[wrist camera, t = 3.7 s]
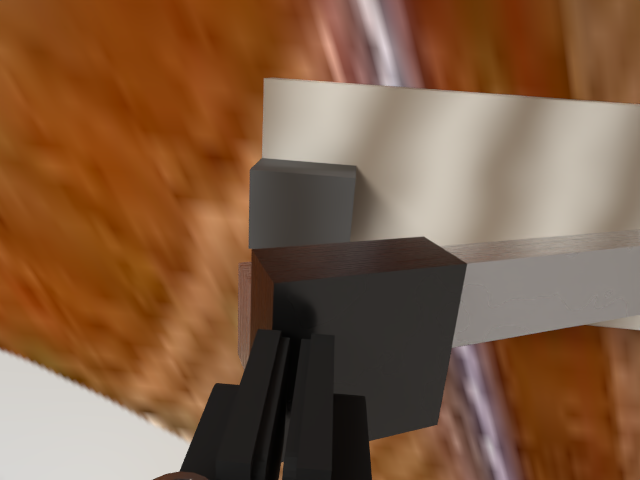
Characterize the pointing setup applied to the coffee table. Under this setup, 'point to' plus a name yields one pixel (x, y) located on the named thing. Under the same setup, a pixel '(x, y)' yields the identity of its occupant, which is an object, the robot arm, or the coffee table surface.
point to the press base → (440, 167)
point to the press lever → (428, 307)
